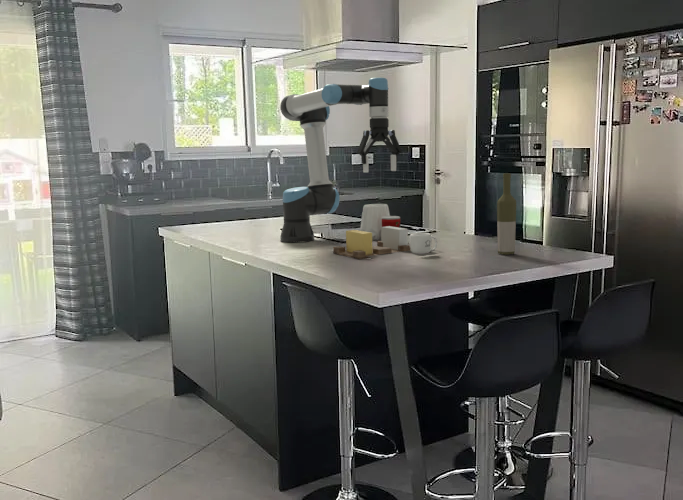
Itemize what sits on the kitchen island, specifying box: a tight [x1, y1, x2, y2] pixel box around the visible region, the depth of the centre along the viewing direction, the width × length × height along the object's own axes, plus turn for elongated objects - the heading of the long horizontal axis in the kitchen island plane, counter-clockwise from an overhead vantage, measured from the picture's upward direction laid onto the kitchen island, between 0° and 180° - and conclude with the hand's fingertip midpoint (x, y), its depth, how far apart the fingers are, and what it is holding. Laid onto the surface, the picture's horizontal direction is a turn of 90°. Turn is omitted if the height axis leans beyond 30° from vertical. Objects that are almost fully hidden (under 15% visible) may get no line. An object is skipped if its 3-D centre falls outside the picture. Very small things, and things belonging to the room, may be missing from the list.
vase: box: [359, 203, 391, 241], centre depth 305 cm, size 14×14×15 cm
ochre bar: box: [345, 229, 373, 255], centre depth 264 cm, size 12×4×8 cm, turn 32°
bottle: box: [496, 172, 517, 256], centre depth 254 cm, size 7×7×30 cm
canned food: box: [382, 215, 402, 228], centre depth 293 cm, size 8×8×11 cm
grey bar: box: [380, 226, 409, 250], centre depth 273 cm, size 12×4×8 cm, turn 32°
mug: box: [408, 232, 438, 255], centre depth 262 cm, size 12×8×8 cm
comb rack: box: [332, 240, 411, 260], centre depth 268 cm, size 18×24×3 cm
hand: (379, 171), depth 276 cm, fingers open, 13 cm apart
